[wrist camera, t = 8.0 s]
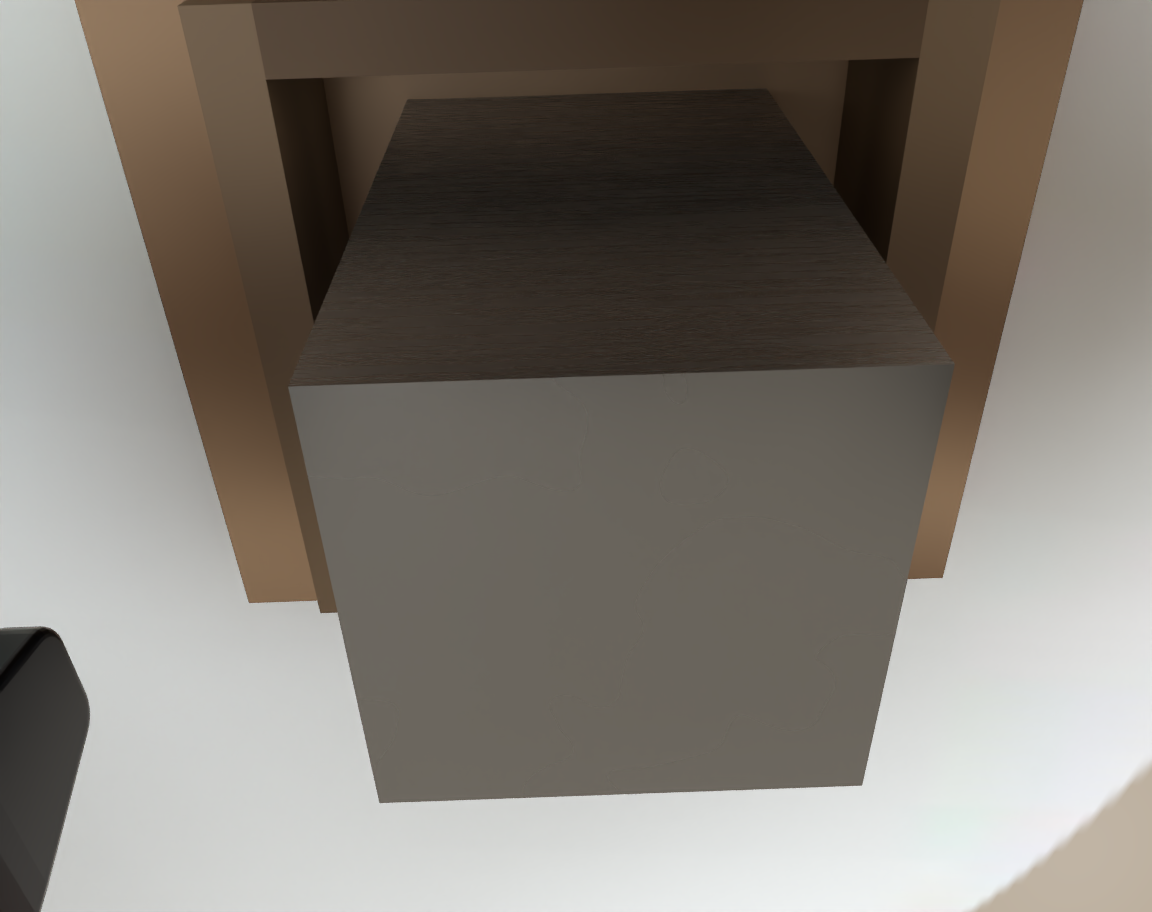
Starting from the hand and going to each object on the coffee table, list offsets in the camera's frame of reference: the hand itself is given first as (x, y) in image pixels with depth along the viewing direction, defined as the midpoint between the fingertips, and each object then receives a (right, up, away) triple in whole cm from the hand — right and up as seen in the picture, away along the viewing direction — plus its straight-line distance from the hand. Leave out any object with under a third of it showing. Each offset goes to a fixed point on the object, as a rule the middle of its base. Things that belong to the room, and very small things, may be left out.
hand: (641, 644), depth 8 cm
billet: (0, +4, +6) cm, 7 cm away
